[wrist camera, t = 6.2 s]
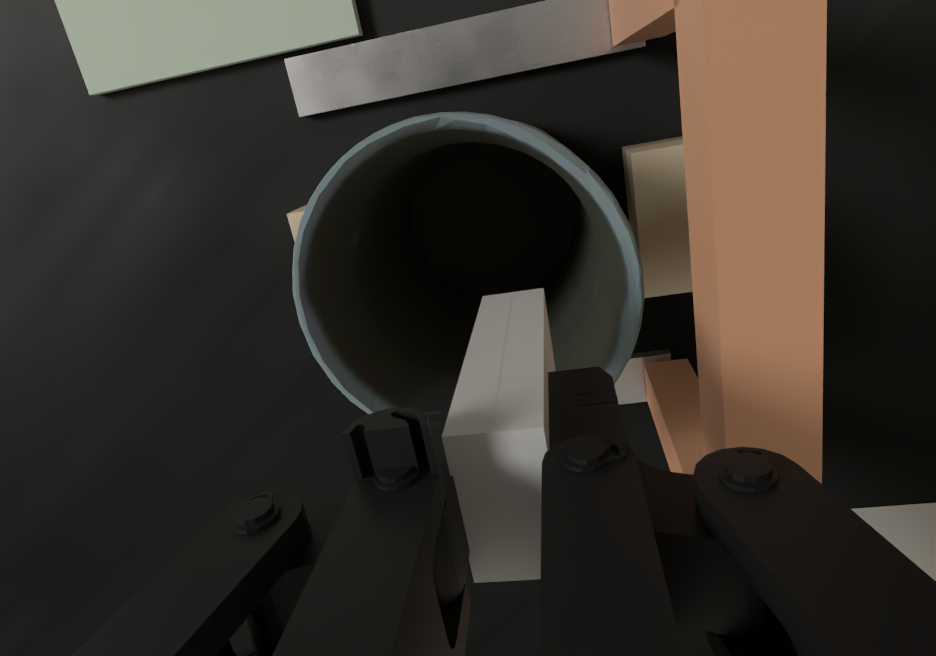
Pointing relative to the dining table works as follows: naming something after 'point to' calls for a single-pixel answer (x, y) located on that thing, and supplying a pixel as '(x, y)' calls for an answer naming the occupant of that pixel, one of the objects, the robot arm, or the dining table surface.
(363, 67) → the rails
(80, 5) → the coaster
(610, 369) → the grey open tube
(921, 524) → the light grey box
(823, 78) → the wooden arch
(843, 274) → the dining table surface
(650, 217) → the beige rectangular block
